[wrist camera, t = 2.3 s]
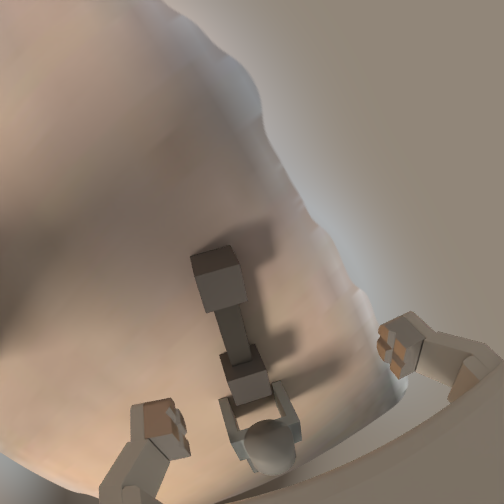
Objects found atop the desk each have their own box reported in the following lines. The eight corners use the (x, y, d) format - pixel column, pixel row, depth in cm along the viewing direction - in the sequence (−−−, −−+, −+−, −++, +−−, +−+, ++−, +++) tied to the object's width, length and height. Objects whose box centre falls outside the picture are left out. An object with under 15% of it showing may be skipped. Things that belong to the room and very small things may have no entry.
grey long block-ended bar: (187, 257, 29) (192, 280, 25) (232, 244, 30) (244, 265, 26) (230, 386, 39) (239, 412, 35) (262, 376, 39) (273, 401, 35)
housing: (218, 399, 39) (238, 469, 29) (280, 380, 41) (312, 445, 31) (228, 420, 42) (247, 483, 32) (284, 402, 43) (312, 462, 33)
